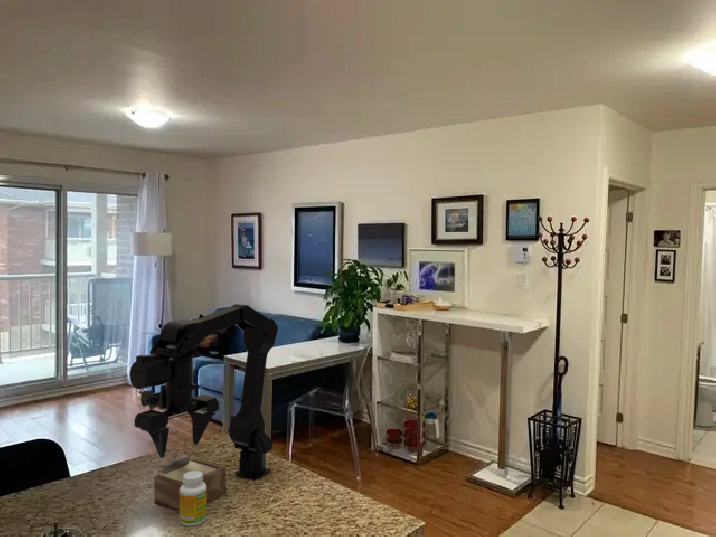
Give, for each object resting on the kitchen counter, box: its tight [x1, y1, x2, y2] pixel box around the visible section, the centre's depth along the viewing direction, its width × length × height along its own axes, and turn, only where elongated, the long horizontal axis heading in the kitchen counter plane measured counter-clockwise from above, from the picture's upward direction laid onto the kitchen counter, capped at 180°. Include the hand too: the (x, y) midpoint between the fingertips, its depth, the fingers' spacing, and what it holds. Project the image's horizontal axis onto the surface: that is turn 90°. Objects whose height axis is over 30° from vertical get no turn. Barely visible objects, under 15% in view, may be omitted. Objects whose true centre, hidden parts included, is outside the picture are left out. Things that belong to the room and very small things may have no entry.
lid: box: [158, 454, 217, 482], centre depth 126 cm, size 9×9×2 cm
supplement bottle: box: [179, 471, 207, 527], centre depth 116 cm, size 5×5×10 cm
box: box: [153, 458, 227, 513], centre depth 126 cm, size 12×10×6 cm
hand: (179, 450), depth 121 cm, fingers open, 9 cm apart
